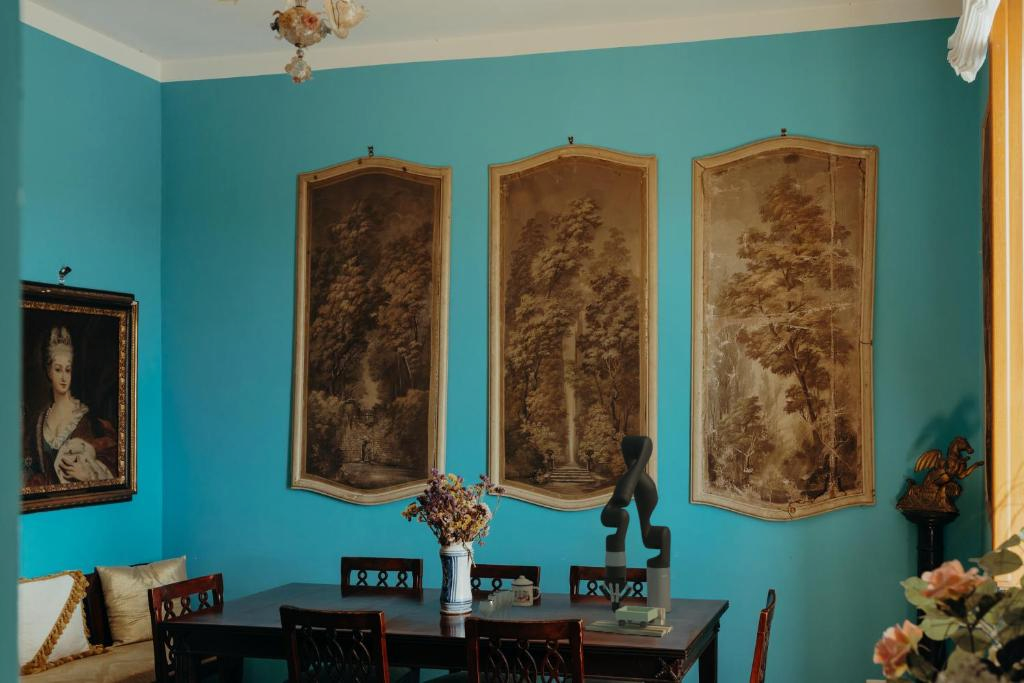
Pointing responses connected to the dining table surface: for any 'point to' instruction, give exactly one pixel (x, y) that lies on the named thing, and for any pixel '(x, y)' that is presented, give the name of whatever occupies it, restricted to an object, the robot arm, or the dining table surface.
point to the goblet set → (497, 603)
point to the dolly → (636, 615)
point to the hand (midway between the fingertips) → (616, 612)
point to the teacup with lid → (523, 592)
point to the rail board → (629, 628)
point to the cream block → (660, 617)
